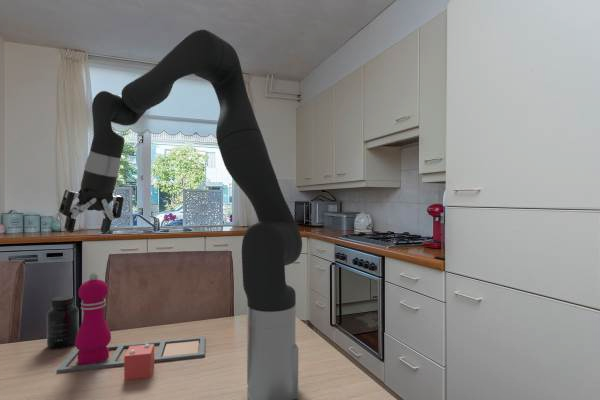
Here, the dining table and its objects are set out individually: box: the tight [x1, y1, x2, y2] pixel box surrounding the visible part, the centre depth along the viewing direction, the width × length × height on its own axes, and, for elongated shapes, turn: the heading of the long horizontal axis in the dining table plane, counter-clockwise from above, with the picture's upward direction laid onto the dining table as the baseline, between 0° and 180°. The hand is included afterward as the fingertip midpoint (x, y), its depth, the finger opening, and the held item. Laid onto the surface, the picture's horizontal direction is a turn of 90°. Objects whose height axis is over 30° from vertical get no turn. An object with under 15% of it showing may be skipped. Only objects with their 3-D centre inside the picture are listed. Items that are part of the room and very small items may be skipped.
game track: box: [56, 336, 206, 374], centre depth 83 cm, size 31×11×1 cm, turn 105°
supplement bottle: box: [46, 294, 80, 350], centre depth 89 cm, size 7×7×12 cm
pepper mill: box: [74, 272, 112, 365], centre depth 81 cm, size 7×7×20 cm
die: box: [123, 344, 155, 381], centre depth 74 cm, size 5×5×6 cm
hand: (87, 232), depth 90 cm, fingers open, 8 cm apart
